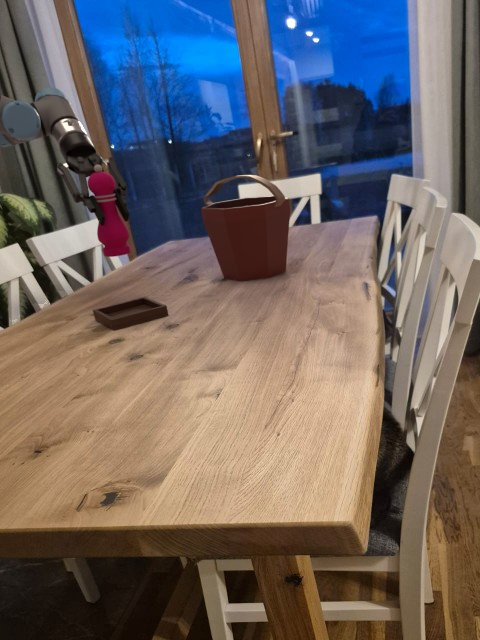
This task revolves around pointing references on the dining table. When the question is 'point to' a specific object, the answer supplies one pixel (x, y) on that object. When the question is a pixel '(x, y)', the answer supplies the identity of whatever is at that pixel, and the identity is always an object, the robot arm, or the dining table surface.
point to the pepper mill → (109, 214)
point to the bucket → (249, 232)
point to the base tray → (130, 313)
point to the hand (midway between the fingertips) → (115, 219)
